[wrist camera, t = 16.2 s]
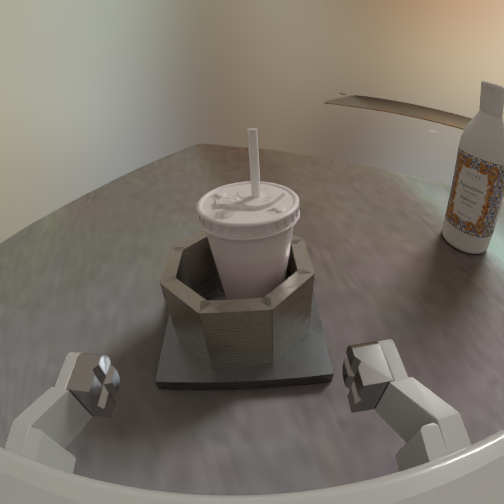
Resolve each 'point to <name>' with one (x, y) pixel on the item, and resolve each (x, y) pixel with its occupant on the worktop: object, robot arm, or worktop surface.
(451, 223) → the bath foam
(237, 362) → the octagonal cup holder
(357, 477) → the worktop surface
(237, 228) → the smoothie
